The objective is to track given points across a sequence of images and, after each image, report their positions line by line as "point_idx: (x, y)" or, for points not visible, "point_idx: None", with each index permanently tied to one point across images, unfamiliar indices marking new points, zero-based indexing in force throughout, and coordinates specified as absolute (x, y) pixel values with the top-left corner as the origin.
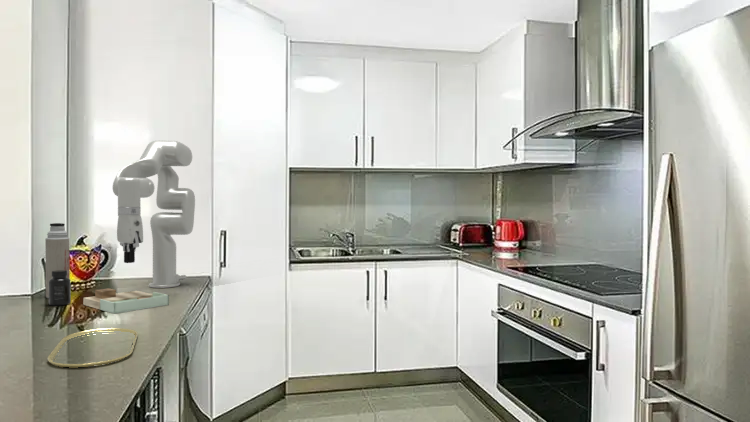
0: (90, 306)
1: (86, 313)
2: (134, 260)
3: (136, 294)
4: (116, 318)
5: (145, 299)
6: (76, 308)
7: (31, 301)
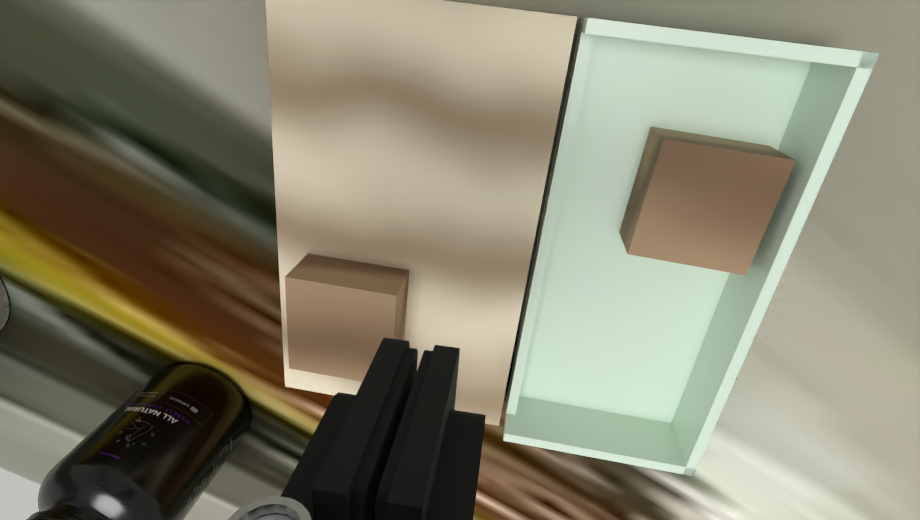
0: None
1: (532, 473)
2: (454, 362)
3: (447, 118)
4: (783, 485)
5: (773, 283)
6: None
7: (41, 418)
